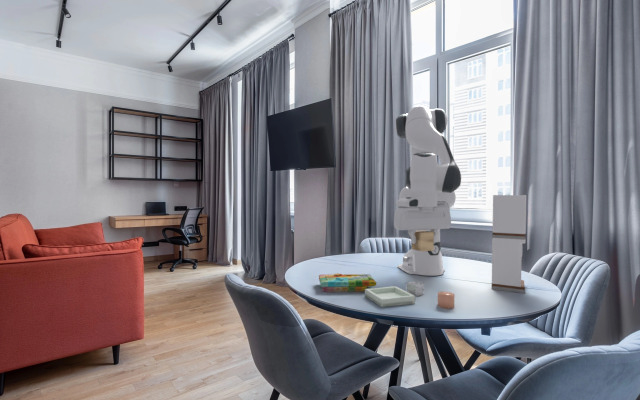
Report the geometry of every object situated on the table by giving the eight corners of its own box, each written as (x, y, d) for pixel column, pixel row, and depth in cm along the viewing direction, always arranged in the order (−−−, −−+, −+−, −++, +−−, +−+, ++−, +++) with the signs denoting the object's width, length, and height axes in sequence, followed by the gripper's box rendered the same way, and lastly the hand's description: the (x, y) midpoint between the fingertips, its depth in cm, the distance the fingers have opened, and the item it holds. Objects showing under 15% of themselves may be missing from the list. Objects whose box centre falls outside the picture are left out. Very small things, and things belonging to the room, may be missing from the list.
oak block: (411, 248, 117) (411, 231, 117) (424, 248, 118) (424, 230, 118) (420, 251, 112) (420, 232, 112) (433, 250, 114) (433, 232, 114)
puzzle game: (318, 272, 135) (369, 272, 137) (318, 284, 136) (369, 284, 137) (320, 280, 124) (376, 279, 125) (320, 293, 124) (376, 292, 125)
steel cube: (406, 294, 123) (406, 282, 123) (414, 292, 125) (414, 281, 125) (415, 296, 120) (415, 285, 120) (423, 294, 122) (423, 283, 122)
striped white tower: (524, 293, 124) (526, 195, 124) (491, 288, 130) (493, 195, 129) (523, 285, 134) (525, 195, 133) (493, 282, 139) (494, 194, 139)
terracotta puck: (434, 304, 111) (434, 292, 111) (447, 303, 113) (447, 290, 113) (444, 309, 107) (444, 296, 107) (457, 307, 108) (458, 295, 108)
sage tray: (364, 296, 120) (365, 289, 120) (395, 293, 123) (395, 286, 123) (381, 307, 108) (381, 299, 108) (415, 303, 112) (415, 295, 112)
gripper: (443, 201, 121) (442, 240, 121) (391, 201, 114) (391, 243, 115) (455, 201, 115) (455, 243, 115) (402, 201, 108) (401, 245, 109)
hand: (422, 243), depth 115 cm, fingers closed on oak block, 5 cm apart
